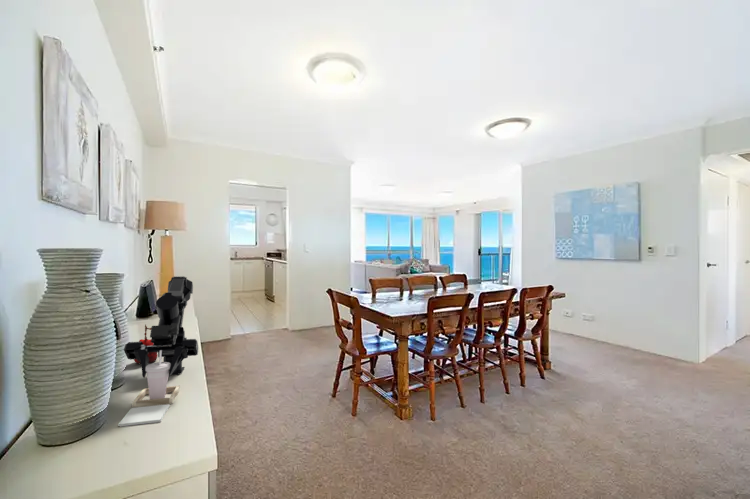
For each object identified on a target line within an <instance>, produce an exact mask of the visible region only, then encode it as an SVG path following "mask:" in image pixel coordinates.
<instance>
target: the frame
mask: <svg viewBox="0 0 750 499" xmlns="http://www.w3.org/2000/svg"><path fill="white" fill-rule="evenodd" d="M180 391H181V386H180V385H172V386H167V388H166V394H167V393H168V394H169V393H171V395H170V396H169V397H165V398H159V399H150V398H149V399H143V398H144V397H145V396H146V395H149V388H143V389H142V390H141V391H140V392H139V394H138V395H137V396H136V398H135V399H133V401H132V404H131V406H132V407H131V408H137V407H147V406H157V405H167V404H170V405H173V403H174V401H175V400H176V398H177V397H178V394H179V393H180Z"/></svg>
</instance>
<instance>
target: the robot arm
mask: <svg viewBox="0 0 750 499" xmlns="http://www.w3.org/2000/svg"><path fill="white" fill-rule="evenodd" d="M167 283H168V284H167V292H164V293H163V294H162V295H161V296H160V297H158V299H156V301H155V308H156V312H157V317H158V318H159V320H158V324H157V325H152V326H151V327H150V328H151V330H150V335H149V338H150V339H151V342H152V343H153V345H152V346H147V345H143V343H142V342H139V341H129V342H127V343H125V345H124V348H123V352H124V354H125V356H126V358H127V359H128V360H131V361H132V360H134V359H137V361H141V364H140V365H141V373H142V377H143V378H146V377H147V371H145V369H146V366H147V365H149V364H150V363H149V357H148V355H147V354H148V353H150V352H157V355H158V356H157V358H159V351H160V350H162V358H163V360H162V362H169V363H171V366H170V370H169V376H171V375H173V376H174V375H181V374H182V373H183V372H184V370H185V366H183V361H184V360H185V359H188V358H189V357H193V356H197V355H198V354H199V343H198V339H196V338H188V339H187V337H186V335H185V328H184V327H183V321H184V312H185V309H186V308H187V306H188V302H189V300H191V296H192V295H193V293H194V284H193V281H191V280H189V279H188V277H187V276H183V275H182V276H172V277H171V279H170V281H168V282H167ZM148 363H149V364H148Z"/></svg>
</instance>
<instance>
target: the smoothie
mask: <svg viewBox="0 0 750 499" xmlns="http://www.w3.org/2000/svg"><path fill="white" fill-rule="evenodd" d="M162 358H163V357H162V350H160V351H159V357H158V361H157V362H152V363H149V364H148V365H147V366H146V369H145V371H147V373H146V377H147V378H146V379H147V385H148V386H147V387H148V388H149V394H148V396H149V397H148V398H149V399H159V398H166V394H167V393H166V388H167V387H168V382H169V381H168V380H169V376H170V375H169V370H170V366H171V363H169V362H163V361H162Z"/></svg>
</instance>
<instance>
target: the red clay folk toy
mask: <svg viewBox="0 0 750 499" xmlns="http://www.w3.org/2000/svg"><path fill="white" fill-rule="evenodd" d="M148 330H150V331H151V327H148V326H147V324H144V332H145V333H144V334H143V335H144V339H139V341H138V342H142V343H143V345H147V346H152V345H153V343H152V342H151V339H152V338H150V339H148V337H147V334H148V333H147V332H148ZM147 355H148V357H149V363H148V365H149V364H152V363H155V362H156V361H157V359H158V352H150V353H148V354H147ZM133 361H134V363H136V364H137V365H141V361H137V359H133Z"/></svg>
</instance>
